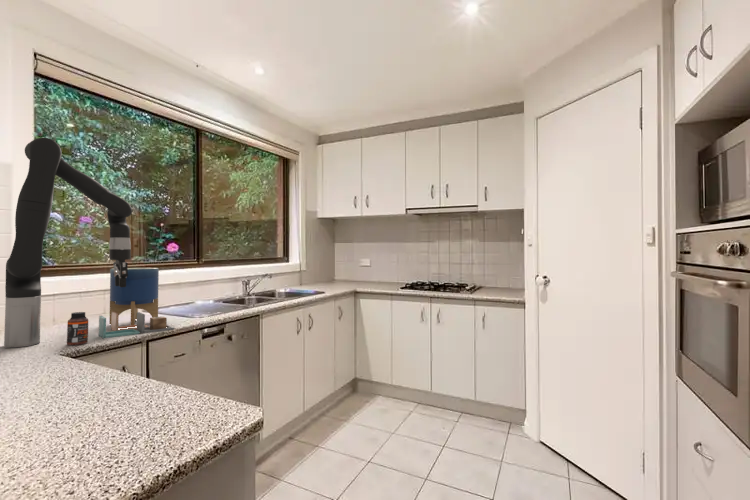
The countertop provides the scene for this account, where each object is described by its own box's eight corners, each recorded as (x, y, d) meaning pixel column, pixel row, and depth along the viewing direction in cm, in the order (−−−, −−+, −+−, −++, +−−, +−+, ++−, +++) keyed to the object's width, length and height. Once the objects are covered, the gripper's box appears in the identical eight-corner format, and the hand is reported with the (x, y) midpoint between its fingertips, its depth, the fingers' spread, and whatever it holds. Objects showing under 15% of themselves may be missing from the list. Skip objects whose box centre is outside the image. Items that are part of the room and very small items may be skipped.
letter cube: (153, 331, 154) (153, 318, 154) (149, 329, 158) (150, 317, 158) (166, 329, 158) (166, 317, 158) (162, 327, 161) (162, 315, 161)
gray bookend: (142, 334, 149) (142, 314, 150) (136, 331, 156) (136, 312, 156) (174, 330, 158) (174, 311, 158) (167, 327, 164) (167, 309, 165)
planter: (106, 329, 161) (107, 269, 161) (112, 322, 177) (113, 268, 178) (157, 325, 170) (157, 268, 170) (158, 319, 187) (159, 267, 187)
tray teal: (103, 339, 140) (103, 318, 140) (98, 335, 146) (99, 315, 147) (139, 334, 149) (139, 314, 149) (133, 331, 155) (134, 312, 155)
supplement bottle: (78, 345, 130) (79, 313, 130) (62, 345, 130) (62, 313, 130) (92, 342, 136) (92, 311, 136) (76, 342, 136) (76, 311, 136)
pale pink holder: (115, 333, 152) (116, 313, 152) (111, 330, 158) (111, 311, 158) (148, 329, 160) (149, 310, 161) (143, 326, 167) (143, 308, 167)
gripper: (106, 248, 158) (106, 286, 158) (113, 248, 148) (113, 288, 148) (126, 248, 163) (127, 285, 163) (134, 248, 153) (135, 286, 153)
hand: (120, 286), depth 156 cm, fingers open, 8 cm apart
